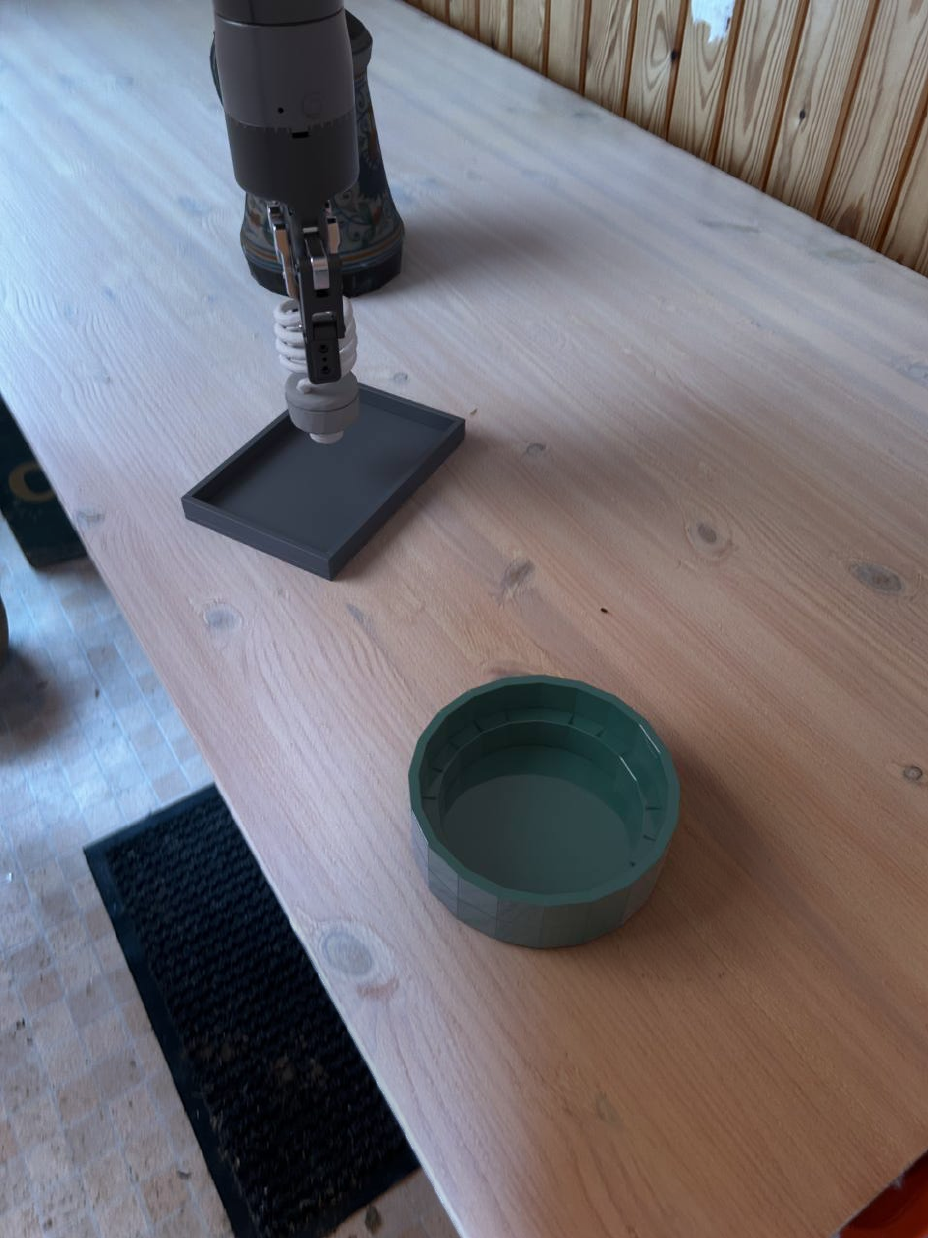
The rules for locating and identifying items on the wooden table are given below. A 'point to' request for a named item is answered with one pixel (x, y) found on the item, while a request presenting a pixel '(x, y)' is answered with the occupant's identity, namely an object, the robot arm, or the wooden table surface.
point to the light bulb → (320, 404)
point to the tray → (325, 481)
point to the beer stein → (339, 200)
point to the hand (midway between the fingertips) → (317, 355)
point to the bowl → (541, 809)
